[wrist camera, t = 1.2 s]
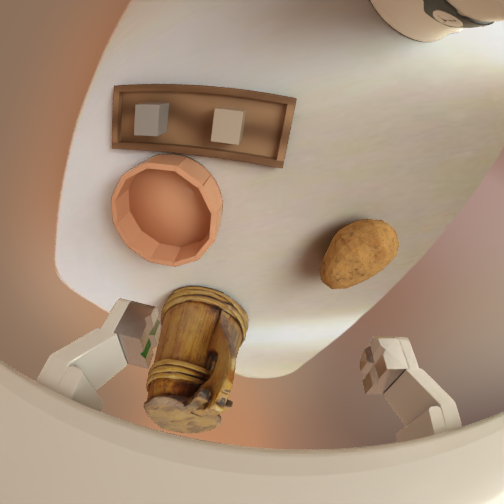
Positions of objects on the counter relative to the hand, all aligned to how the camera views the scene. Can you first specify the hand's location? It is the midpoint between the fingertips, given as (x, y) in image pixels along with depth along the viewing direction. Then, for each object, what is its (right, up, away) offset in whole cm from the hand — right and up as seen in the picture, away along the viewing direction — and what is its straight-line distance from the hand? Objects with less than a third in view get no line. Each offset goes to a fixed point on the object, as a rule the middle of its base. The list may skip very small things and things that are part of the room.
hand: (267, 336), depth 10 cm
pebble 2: (-3, +21, +25) cm, 33 cm away
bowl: (-13, +11, +33) cm, 38 cm away
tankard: (-9, -9, +47) cm, 48 cm away
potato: (+16, +5, +35) cm, 39 cm away
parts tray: (-8, +22, +26) cm, 35 cm away
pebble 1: (-14, +22, +25) cm, 36 cm away
